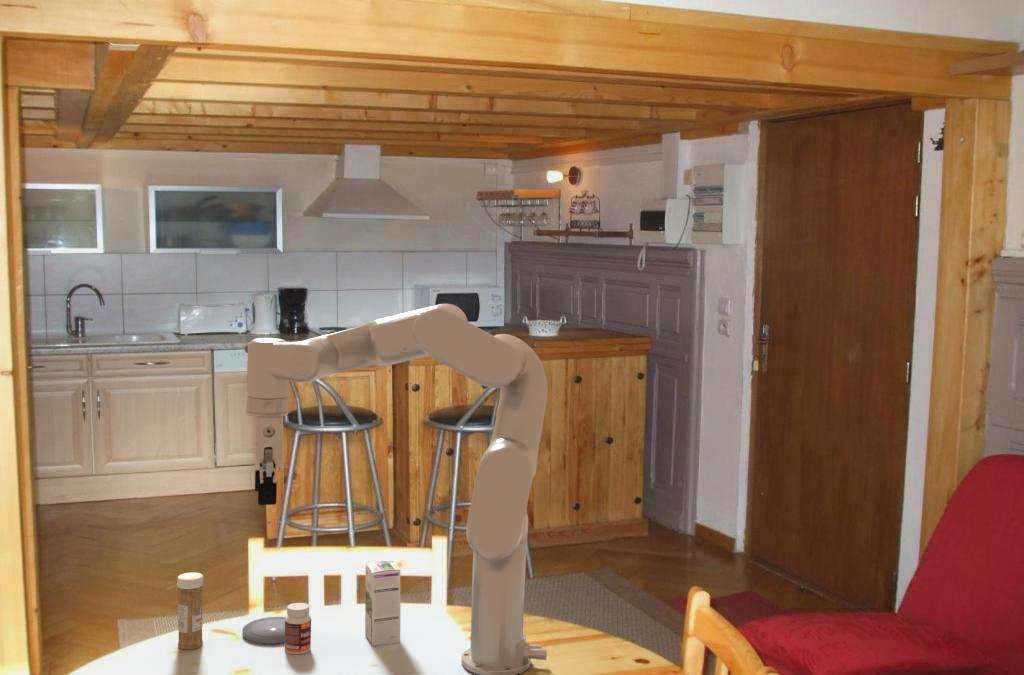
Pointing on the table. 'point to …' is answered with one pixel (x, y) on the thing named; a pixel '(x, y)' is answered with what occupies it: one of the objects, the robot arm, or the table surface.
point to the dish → (265, 631)
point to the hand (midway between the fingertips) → (265, 497)
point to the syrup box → (382, 603)
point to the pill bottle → (297, 629)
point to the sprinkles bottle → (190, 610)
